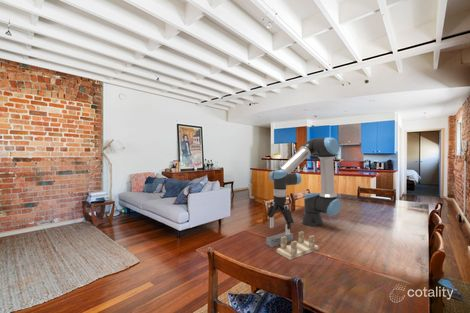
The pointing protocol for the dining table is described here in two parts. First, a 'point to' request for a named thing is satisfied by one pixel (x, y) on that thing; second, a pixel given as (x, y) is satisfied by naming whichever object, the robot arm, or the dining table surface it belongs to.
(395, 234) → the dining table surface
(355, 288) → the dining table surface
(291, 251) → the rack
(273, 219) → the robot arm
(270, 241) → the bar
